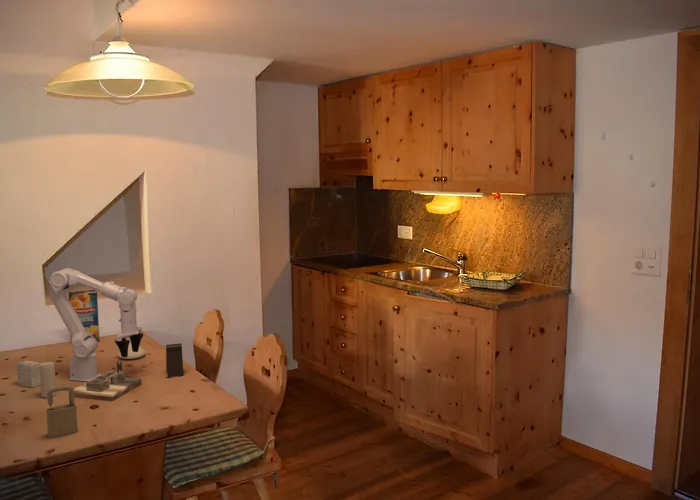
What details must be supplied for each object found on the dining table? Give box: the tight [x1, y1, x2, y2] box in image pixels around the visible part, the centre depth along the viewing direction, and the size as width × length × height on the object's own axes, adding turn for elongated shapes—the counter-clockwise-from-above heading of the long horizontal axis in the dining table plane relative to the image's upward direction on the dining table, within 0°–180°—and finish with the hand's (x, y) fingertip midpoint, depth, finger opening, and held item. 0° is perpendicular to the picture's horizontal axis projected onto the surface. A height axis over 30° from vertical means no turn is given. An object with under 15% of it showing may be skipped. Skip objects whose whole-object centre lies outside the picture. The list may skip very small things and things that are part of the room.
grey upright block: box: [16, 360, 41, 389], centre depth 229 cm, size 8×4×9 cm, turn 65°
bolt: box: [106, 360, 125, 383], centre depth 228 cm, size 8×2×6 cm, turn 166°
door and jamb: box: [73, 370, 142, 402], centre depth 224 cm, size 18×17×5 cm
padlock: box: [46, 384, 79, 438], centre depth 186 cm, size 4×8×15 cm, turn 123°
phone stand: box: [165, 343, 184, 378], centre depth 243 cm, size 9×6×12 cm, turn 21°
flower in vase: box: [117, 304, 146, 360], centre depth 264 cm, size 13×11×25 cm
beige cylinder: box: [40, 361, 57, 399], centre depth 218 cm, size 5×5×12 cm
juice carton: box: [67, 289, 100, 342], centre depth 289 cm, size 12×8×24 cm, turn 120°
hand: (130, 354), depth 237 cm, fingers open, 7 cm apart
